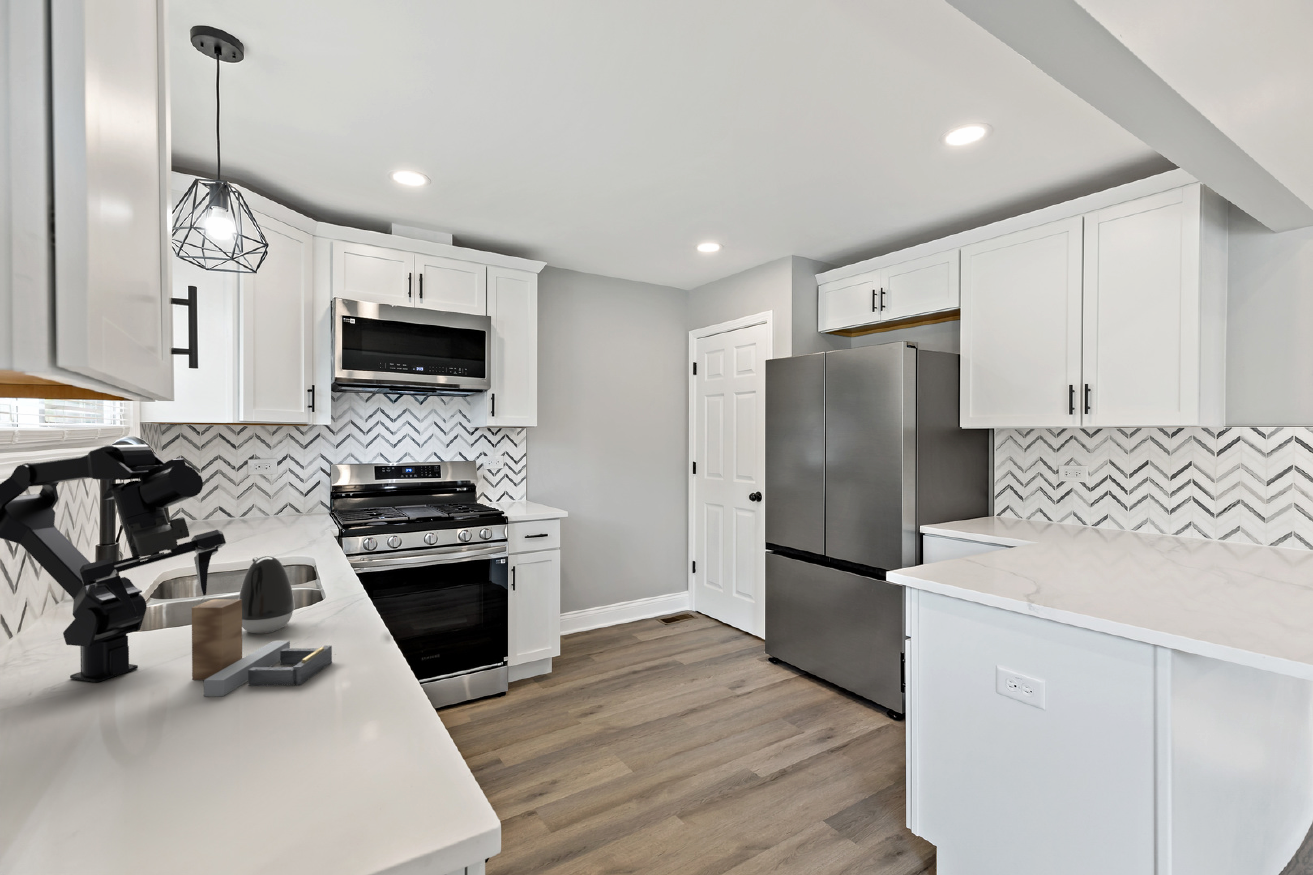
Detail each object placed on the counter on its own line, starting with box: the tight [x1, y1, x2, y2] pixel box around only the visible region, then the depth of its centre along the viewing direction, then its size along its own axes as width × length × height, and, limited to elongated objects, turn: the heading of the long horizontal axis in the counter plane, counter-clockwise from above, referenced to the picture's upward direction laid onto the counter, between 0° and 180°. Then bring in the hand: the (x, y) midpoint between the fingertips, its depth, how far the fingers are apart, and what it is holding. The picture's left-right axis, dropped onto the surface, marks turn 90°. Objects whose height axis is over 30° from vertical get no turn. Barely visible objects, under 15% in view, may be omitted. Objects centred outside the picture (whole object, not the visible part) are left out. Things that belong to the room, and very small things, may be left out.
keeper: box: [247, 645, 333, 686], centre depth 106 cm, size 8×10×3 cm
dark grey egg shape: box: [237, 555, 296, 635], centre depth 129 cm, size 10×10×15 cm
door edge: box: [203, 640, 291, 697], centre depth 106 cm, size 3×18×2 cm, turn 1°
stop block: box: [191, 598, 243, 681], centre depth 106 cm, size 5×5×12 cm
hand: (171, 605), depth 103 cm, fingers open, 9 cm apart
